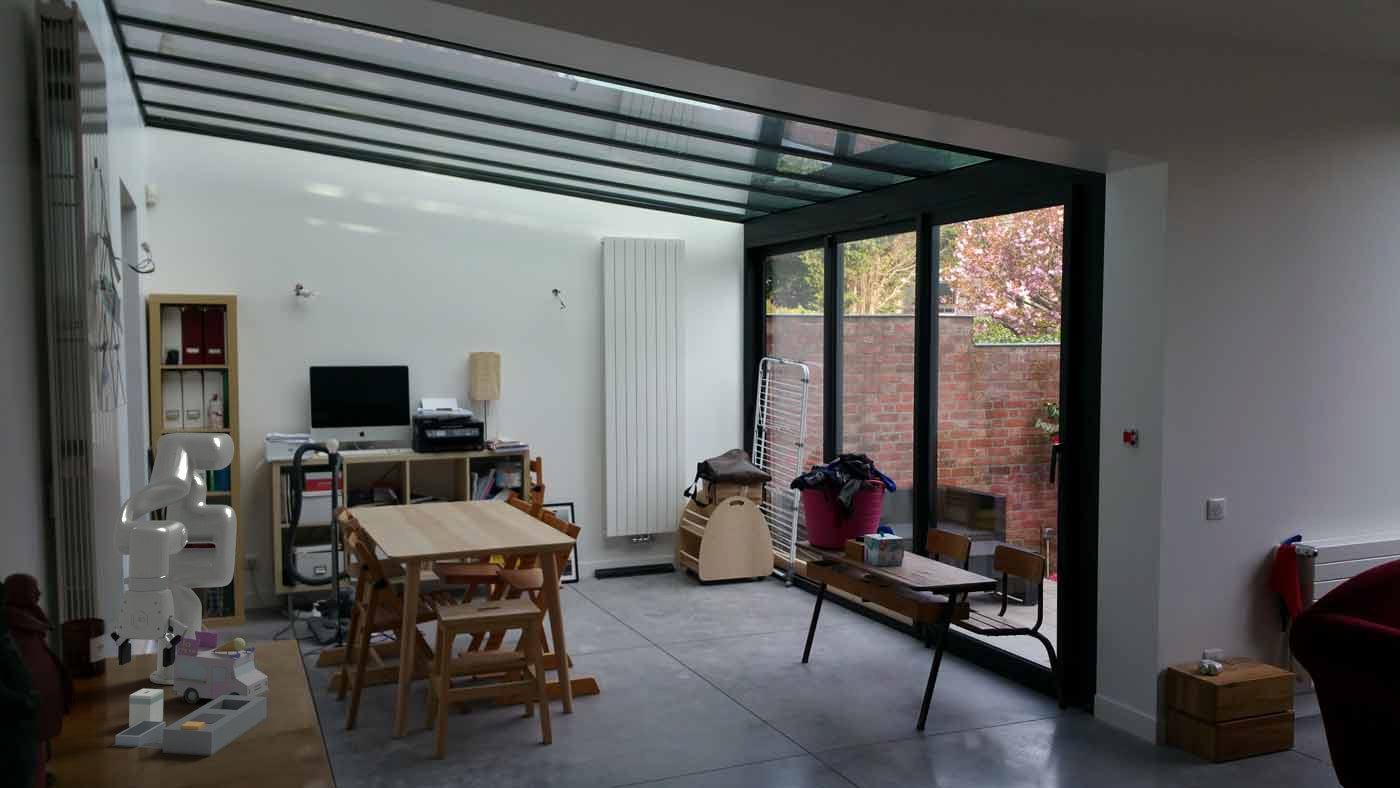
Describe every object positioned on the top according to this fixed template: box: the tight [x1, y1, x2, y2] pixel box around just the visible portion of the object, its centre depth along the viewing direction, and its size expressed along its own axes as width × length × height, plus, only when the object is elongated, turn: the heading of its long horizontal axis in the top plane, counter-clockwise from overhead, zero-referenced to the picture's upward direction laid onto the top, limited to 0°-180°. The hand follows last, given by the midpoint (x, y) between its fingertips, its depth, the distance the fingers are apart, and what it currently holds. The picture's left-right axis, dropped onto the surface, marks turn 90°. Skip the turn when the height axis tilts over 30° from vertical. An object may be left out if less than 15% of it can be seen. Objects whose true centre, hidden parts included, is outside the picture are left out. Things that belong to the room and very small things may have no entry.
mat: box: [111, 733, 163, 750], centre depth 212 cm, size 10×12×1 cm
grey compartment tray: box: [162, 695, 268, 757], centre depth 215 cm, size 22×10×6 cm, turn 176°
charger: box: [128, 688, 164, 728], centre depth 220 cm, size 5×5×7 cm
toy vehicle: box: [171, 630, 270, 705], centre depth 237 cm, size 9×20×15 cm, turn 78°
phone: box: [114, 720, 167, 746], centre depth 212 cm, size 9×5×2 cm, turn 176°
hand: (146, 664), depth 219 cm, fingers open, 9 cm apart
